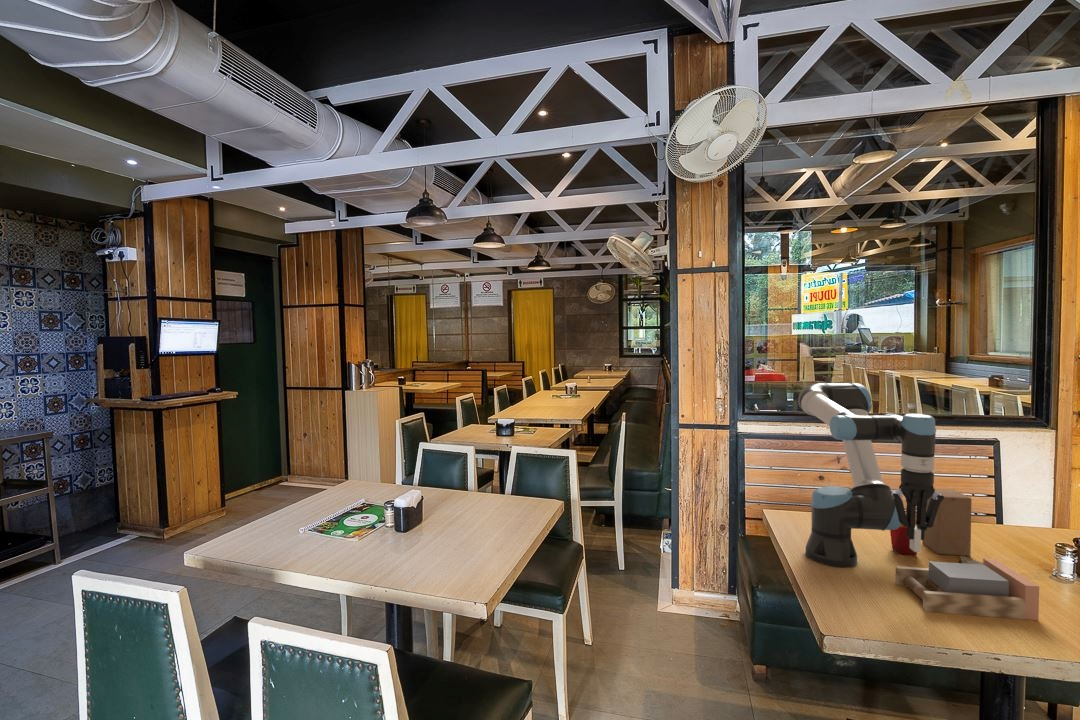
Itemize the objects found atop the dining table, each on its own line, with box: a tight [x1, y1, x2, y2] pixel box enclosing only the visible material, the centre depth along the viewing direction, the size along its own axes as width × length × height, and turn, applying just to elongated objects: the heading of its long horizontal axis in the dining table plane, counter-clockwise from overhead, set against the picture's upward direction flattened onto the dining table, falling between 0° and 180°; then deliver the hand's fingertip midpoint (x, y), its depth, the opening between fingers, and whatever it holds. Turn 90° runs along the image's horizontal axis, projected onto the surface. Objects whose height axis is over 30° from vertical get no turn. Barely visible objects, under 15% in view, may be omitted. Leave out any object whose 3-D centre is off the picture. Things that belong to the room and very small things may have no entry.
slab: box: [928, 560, 1009, 597], centre depth 141 cm, size 14×10×5 cm
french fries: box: [889, 506, 918, 557], centre depth 174 cm, size 9×8×15 cm
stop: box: [982, 558, 1040, 621], centre depth 139 cm, size 3×16×9 cm, turn 169°
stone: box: [958, 556, 983, 565], centre depth 156 cm, size 15×8×3 cm, turn 28°
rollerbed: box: [894, 565, 1026, 620], centre depth 142 cm, size 23×16×5 cm
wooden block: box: [921, 488, 972, 557], centre depth 174 cm, size 10×10×20 cm
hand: (915, 550), depth 144 cm, fingers closed
